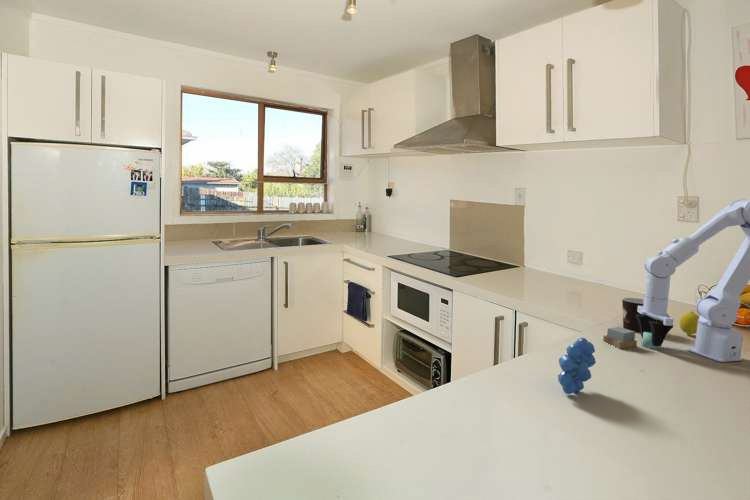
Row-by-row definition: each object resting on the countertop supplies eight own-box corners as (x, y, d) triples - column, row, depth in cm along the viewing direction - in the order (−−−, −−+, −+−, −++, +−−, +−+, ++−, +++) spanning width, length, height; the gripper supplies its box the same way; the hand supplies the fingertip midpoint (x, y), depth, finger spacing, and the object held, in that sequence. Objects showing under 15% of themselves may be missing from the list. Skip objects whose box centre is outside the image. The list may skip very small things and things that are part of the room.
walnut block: (636, 349, 117) (637, 341, 117) (619, 350, 116) (620, 342, 115) (619, 342, 123) (620, 334, 122) (602, 343, 121) (603, 335, 121)
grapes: (571, 378, 94) (575, 329, 93) (600, 390, 89) (605, 337, 87) (541, 390, 88) (545, 337, 87) (570, 403, 82) (575, 347, 81)
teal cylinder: (663, 349, 116) (665, 336, 116) (651, 350, 115) (652, 336, 115) (650, 344, 121) (651, 331, 120) (638, 345, 120) (639, 332, 119)
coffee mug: (649, 335, 129) (652, 305, 128) (618, 329, 134) (620, 300, 133) (650, 327, 138) (654, 299, 137) (621, 322, 143) (624, 295, 142)
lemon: (691, 333, 133) (694, 309, 132) (703, 338, 127) (706, 314, 126) (674, 332, 133) (676, 308, 132) (685, 337, 128) (688, 313, 127)
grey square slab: (634, 340, 118) (635, 331, 117) (622, 341, 116) (623, 333, 115) (618, 334, 122) (619, 326, 122) (607, 336, 120) (607, 328, 120)
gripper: (628, 291, 124) (624, 333, 125) (655, 302, 110) (650, 350, 111) (653, 292, 123) (648, 335, 125) (683, 303, 109) (678, 351, 110)
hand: (651, 342), depth 118 cm, fingers open, 5 cm apart
